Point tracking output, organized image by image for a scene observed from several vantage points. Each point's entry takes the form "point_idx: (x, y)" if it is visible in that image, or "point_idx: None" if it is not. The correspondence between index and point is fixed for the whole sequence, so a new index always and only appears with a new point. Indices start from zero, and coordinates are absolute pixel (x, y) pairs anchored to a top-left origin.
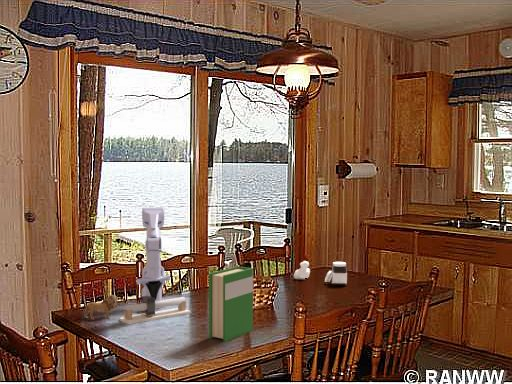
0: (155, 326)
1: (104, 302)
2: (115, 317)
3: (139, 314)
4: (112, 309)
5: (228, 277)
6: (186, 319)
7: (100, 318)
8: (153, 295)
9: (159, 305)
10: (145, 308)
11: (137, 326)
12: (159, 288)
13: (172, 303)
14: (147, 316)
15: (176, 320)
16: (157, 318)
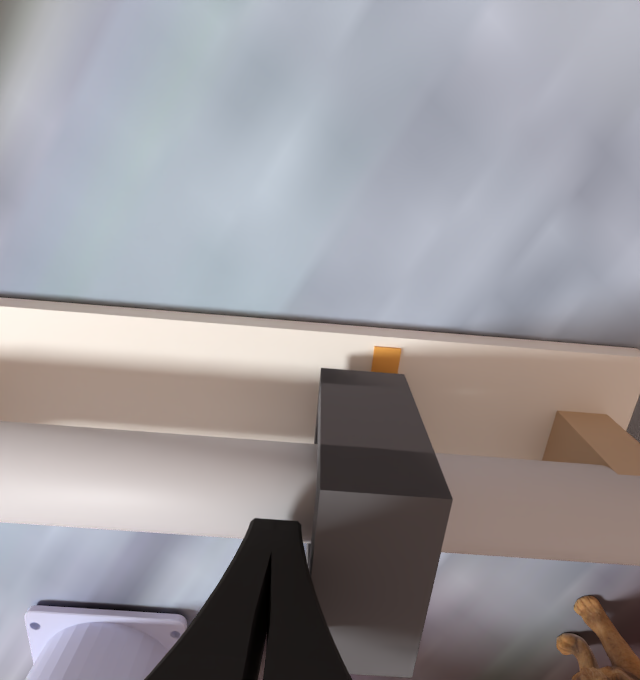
0: (503, 81)
1: None
2: (537, 588)
3: None
4: (587, 668)
5: None
6: (39, 95)
7: (633, 626)
8: (306, 573)
9: (222, 444)
10: None
11: (630, 226)
12: (146, 678)
13: (21, 429)
14: None
15: (164, 142)
16: (308, 324)
